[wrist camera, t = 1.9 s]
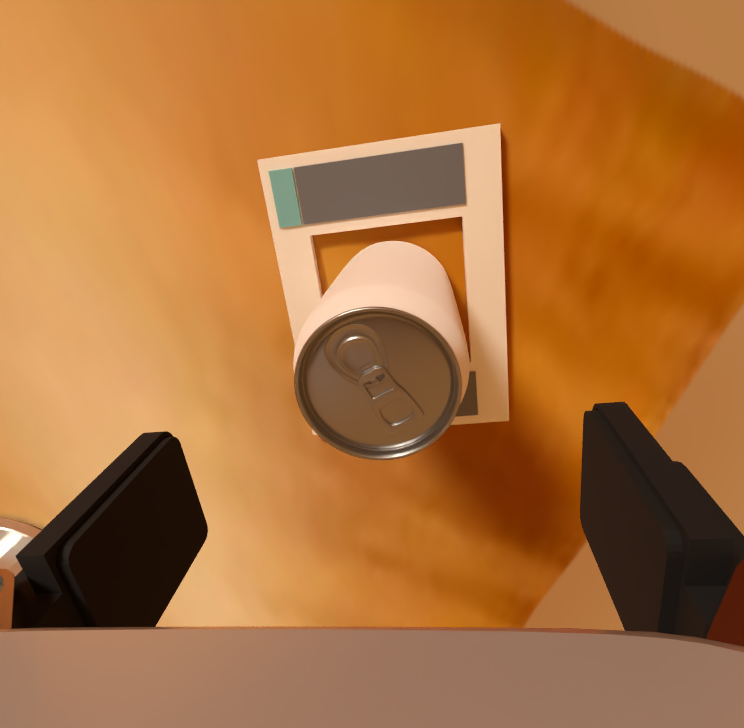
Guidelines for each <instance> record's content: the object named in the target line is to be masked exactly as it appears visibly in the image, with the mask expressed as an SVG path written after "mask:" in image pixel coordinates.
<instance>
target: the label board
mask: <svg viewBox="0 0 744 728" xmlns="http://www.w3.org/2000/svg"><path fill="white" fill-rule="evenodd" d="M257 161H258V166H259V171H260V176H261V181H262V186H263V191H264V196H265V201H266V206H267V211H268V216H269V221H270V225H271V230H272V235H273V240H274V245H275V250H276V255H277V260H278V265H279V270H280V275H281V280H282V285H283V290H284V295H285V299H286V304H287V309H288V314H289V319H290V324H291V329H292V334H293V339H294V344H295V346H296V342H297V339H298V336H299V334H300V331H301V329H302V327H303V325H304V323H305V321H306V320H307V318H308V316H309V315H310V313H311V312H312V311H313V309H314V308H315V306H316V305H317V303H318V302H319V301H320V299H321V298H322V297H323V295H322V289H321V283H320V277H319V271H318V266H317V260H316V254H315V248H314V243H313V237H312V235H319V234H327V233H335V232H343V231H351V230H359V229H366V228H374V227H382V226H390V225H398V224H406V223H414V222H422V221H429V220H437V219H445V218H453V217H461V216H462V231H463V247H464V263H465V280H466V296H467V312H468V329H469V345H470V358H469V365H470V367H469V380H468V385H467V389H466V392H465V395H464V397H463V399H462V401H461V403H460V405H459V408H458V411H457V414H456V416H455V418H454V420H453V422H452V423H451V425H458V424H472V423H486V422H500V421H509V397H508V364H507V332H506V299H505V267H504V234H503V202H502V169H501V136H500V123H499V124H492V125H486V126H479V127H472V128H466V129H459V130H452V131H446V132H439V133H432V134H426V135H419V136H413V137H406V138H399V139H393V140H386V141H379V142H373V143H366V144H359V145H353V146H346V147H340V148H333V149H326V150H320V151H313V152H306V153H300V154H293V155H286V156H280V157H273V158H267V159H260V160H257ZM312 433H313V435H317V434H316V433H315V432H314V430H313V429H312Z"/></svg>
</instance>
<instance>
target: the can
mask: <svg viewBox="0 0 744 728" xmlns="http://www.w3.org/2000/svg"><path fill="white" fill-rule="evenodd" d="M469 367H470V365H469V353H468V347H467V342H466V338H465V334H464V330H463V326H462V322H461V319H460V315H459V311H458V308H457V304H456V300H455V297H454V293H453V290H452V287H451V283H450V281H449V278H448V276H447V273H446V272H445V270H444V268H443V267H442V265H441V264H440V263H439V261H438V260H437V259H436V258H435V257H434V256H433V255H431V254H430V253H429V252H428V251H426V250H424V249H423V248H421V247H419V246H417V245H414V244H411V243H407V242H402V241H385V242H379V243H375V244H373V245H370V246H368V247H366V248H365V249H363V250H362V251H360V252H359V253H358V254H357V255H355V256H354V257H353V258H352V259H351V260H350V262H349V263H348V264H347V265H346V266H345V267H344V269H343V270H342V271H341V273H340V274H339V275H338V276H337V278H336V279H335V280H334V282H333V283H332V284H331V286H330V287H329V288H328V290H327V291H326V293H325V294H324V295H323V297H322V298H321V299H320V301H319V302H318V303H317V305H316V306H315V308H314V309H313V311H312V312H311V313H310V315H309V316H308V318H307V320H306V321H305V323H304V325H303V327H302V329H301V331H300V334H299V336H298V339H297V342H296V346H295V352H294V388H295V395H296V399H297V402H298V405H299V408H300V410H301V412H302V414H303V416H304V418H305V420H306V421H307V423H308V424H309V425H310V427H311V428H312V429H313V430H314V432H315V433H316V434H317V435H318V436H319V437H321V438H322V439H323V440H324V441H325V442H327V443H328V444H330V445H331V446H333V447H334V448H336V449H338V450H340V451H342V452H344V453H346V454H349V455H352V456H355V457H359V458H363V459H369V460H393V459H399V458H403V457H407V456H410V455H413V454H415V453H418V452H420V451H422V450H424V449H425V448H427V447H429V446H430V445H431V444H433V443H434V442H435V441H437V440H438V439H439V438H440V437H441V436H442V435H443V434H444V433H445V432H446V430H447V429H448V428H449V426H450V425H451V423H452V422H453V420H454V418H455V416H456V414H457V411H458V408H459V405H460V403H461V401H462V399H463V397H464V395H465V392H466V389H467V385H468V380H469Z"/></svg>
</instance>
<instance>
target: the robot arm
mask: <svg viewBox="0 0 744 728" xmlns="http://www.w3.org/2000/svg"><path fill="white" fill-rule="evenodd" d="M580 518H581V524H582V528H583V531H584V533H585V536H586V538H587V540H588V543H589V545H590V547H591V550H592V552H593V555H594V557H595V560H596V562H597V564H598V567H599V569H600V572H601V574H602V576H603V579H604V581H605V583H606V586H607V588H608V591H609V593H610V596H611V598H612V600H613V603H614V605H615V607H616V610H617V612H618V615H619V617H620V619H621V622H622V624H623V627H624V629H625V631H619V630H594V629H573V628H473V627H155V626H156V624H157V623H158V621H159V619H160V618H161V616H162V614H163V612H164V611H165V609H166V607H167V606H168V604H169V602H170V600H171V599H172V597H173V595H174V594H175V592H176V590H177V588H178V587H179V585H180V583H181V582H182V580H183V578H184V576H185V575H186V573H187V571H188V570H189V568H190V566H191V564H192V563H193V561H194V559H195V558H196V556H197V554H198V552H199V551H200V549H201V547H202V546H203V544H204V542H205V540H206V537H207V532H208V528H207V523H206V520H205V517H204V514H203V511H202V508H201V505H200V502H199V498H198V495H197V492H196V489H195V486H194V483H193V480H192V477H191V474H190V471H189V468H188V465H187V462H186V459H185V456H184V453H183V450H182V447H181V444H180V442H179V440H178V439H177V438H176V437H173V436H172V434H171V433H169V432H152V433H143V434H142V435H140V436H139V437H138V438H137V439H136V440H135V441H134V442H133V443H132V444H131V445H130V446H129V447H128V448H127V449H126V450H125V451H124V452H123V453H122V454H121V455H119V456H118V457H117V458H116V459H115V460H114V461H113V462H112V463H111V464H110V465H109V466H108V467H107V468H106V469H105V470H104V471H103V472H102V473H101V474H100V475H99V476H98V477H97V478H96V479H95V480H94V481H92V482H91V483H90V484H89V485H88V486H87V487H86V488H85V489H84V490H83V491H82V492H81V493H80V494H79V495H78V496H77V497H76V498H75V499H74V500H73V501H72V502H71V503H70V504H69V505H68V506H67V507H65V508H64V509H63V510H62V511H61V512H60V513H59V514H58V515H57V516H56V517H55V518H54V519H53V520H52V521H51V522H50V523H49V524H48V525H47V526H46V527H45V528H44V529H43V530H40V529H38V528H35V527H33V526H31V525H28V524H25V523H22V522H18V521H15V520H10V519H3V518H0V728H744V536H743V534H742V533H741V532H740V531H739V530H738V528H737V527H736V526H735V525H734V524H733V523H732V521H731V520H730V519H729V518H728V517H727V515H726V514H725V513H724V512H723V511H722V509H721V508H720V507H719V506H718V505H717V503H716V502H715V501H714V500H713V499H712V497H711V496H710V495H709V494H708V493H707V491H706V490H705V489H704V488H703V487H702V486H701V484H700V483H699V482H698V481H697V479H696V478H695V477H694V476H693V475H692V473H691V472H690V471H689V470H688V469H687V467H686V466H684V465H683V464H682V463H681V462H677V461H672V460H671V459H670V457H669V456H668V455H667V454H666V452H665V451H664V450H663V449H662V447H661V446H660V445H659V444H658V442H657V441H656V440H655V439H654V438H653V436H652V435H651V434H650V433H649V431H648V430H647V429H646V428H645V426H644V425H643V424H642V423H641V421H640V420H639V419H638V418H637V416H636V415H635V414H634V413H633V411H632V410H631V409H630V408H629V407H628V405H627V404H626V403H625V402H614V403H598V404H595V405H594V406H593V410H592V411H585V413H584V421H583V448H582V474H581V501H580Z"/></svg>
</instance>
